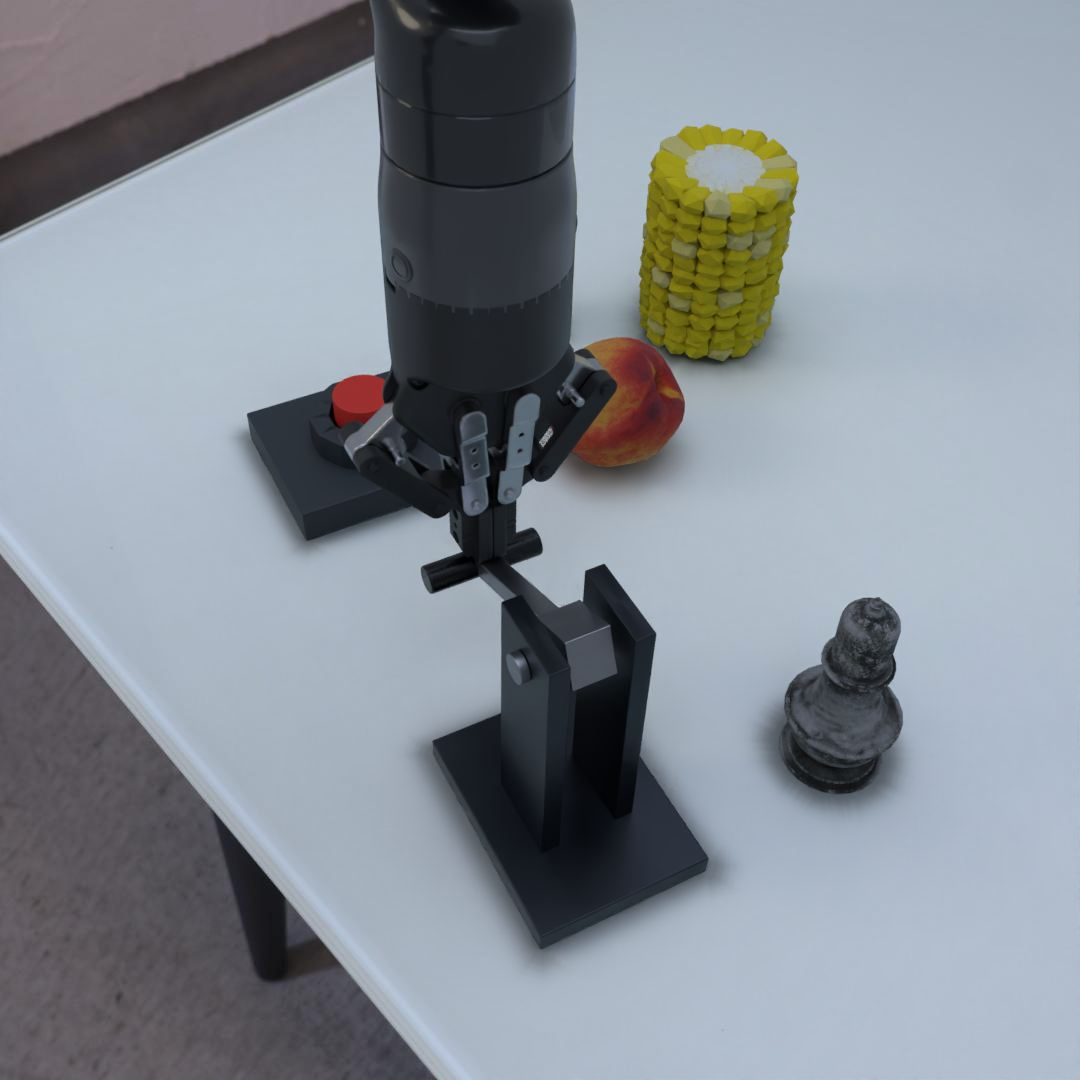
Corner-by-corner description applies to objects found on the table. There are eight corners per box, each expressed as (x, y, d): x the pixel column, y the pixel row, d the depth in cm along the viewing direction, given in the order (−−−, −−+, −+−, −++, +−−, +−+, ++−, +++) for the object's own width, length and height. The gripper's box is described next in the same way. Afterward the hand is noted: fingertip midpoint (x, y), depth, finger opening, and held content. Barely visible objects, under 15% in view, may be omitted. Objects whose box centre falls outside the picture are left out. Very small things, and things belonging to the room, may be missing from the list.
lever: (425, 596, 64) (415, 553, 63) (534, 556, 66) (526, 514, 65) (531, 708, 54) (522, 659, 53) (656, 657, 56) (650, 609, 55)
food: (762, 312, 96) (747, 403, 90) (611, 260, 96) (585, 349, 89) (848, 139, 85) (838, 230, 78) (677, 79, 84) (652, 166, 78)
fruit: (634, 512, 80) (644, 412, 74) (522, 461, 82) (524, 361, 77) (694, 440, 84) (709, 341, 78) (587, 394, 87) (593, 295, 81)
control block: (306, 541, 77) (298, 492, 74) (251, 439, 83) (242, 390, 80) (489, 479, 81) (489, 431, 78) (424, 386, 87) (421, 338, 84)
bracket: (432, 753, 67) (420, 557, 56) (586, 691, 70) (602, 493, 59) (540, 950, 60) (549, 767, 49) (706, 870, 63) (749, 682, 52)
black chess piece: (764, 781, 66) (803, 629, 58) (784, 692, 70) (823, 538, 62) (880, 812, 65) (938, 662, 57) (894, 720, 69) (950, 567, 61)
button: (347, 441, 78) (345, 419, 77) (325, 406, 80) (323, 384, 79) (403, 424, 79) (401, 402, 78) (380, 389, 81) (378, 367, 80)
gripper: (581, 158, 55) (566, 459, 68) (282, 235, 51) (326, 542, 63) (674, 250, 51) (640, 554, 63) (355, 344, 46) (386, 651, 59)
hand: (482, 548), depth 63 cm, fingers closed
